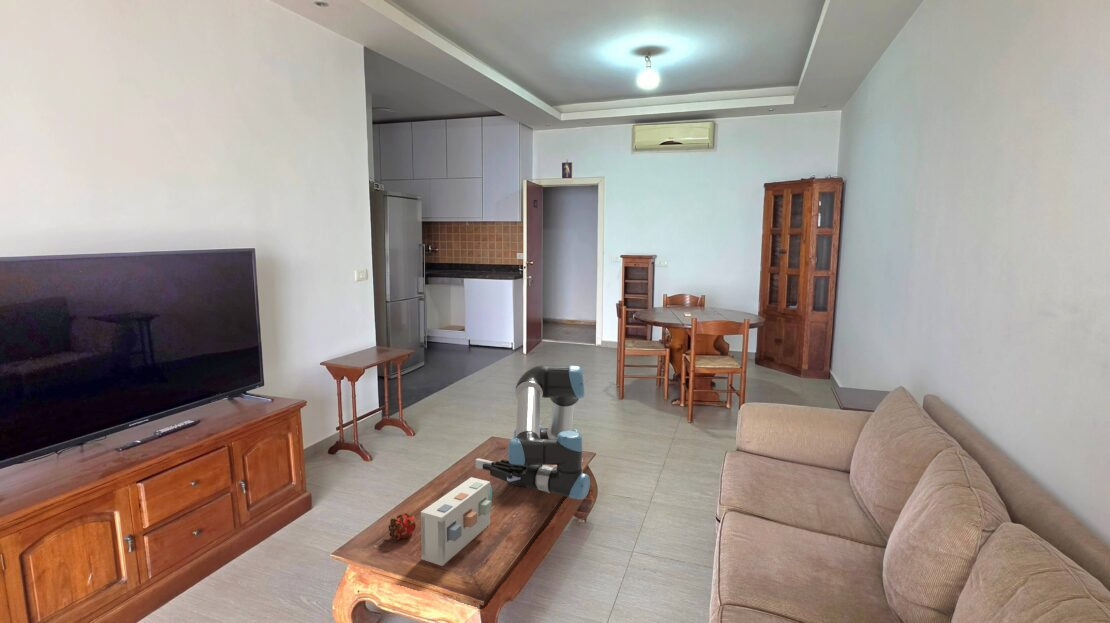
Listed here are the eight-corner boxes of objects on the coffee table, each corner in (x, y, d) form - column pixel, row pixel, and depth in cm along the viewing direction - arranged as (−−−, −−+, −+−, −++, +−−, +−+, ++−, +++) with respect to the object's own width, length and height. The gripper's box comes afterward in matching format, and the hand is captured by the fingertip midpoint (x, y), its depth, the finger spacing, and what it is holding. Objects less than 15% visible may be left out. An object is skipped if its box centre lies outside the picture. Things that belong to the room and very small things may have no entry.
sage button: (479, 507, 193) (479, 497, 193) (491, 510, 191) (491, 501, 191) (473, 512, 190) (473, 502, 190) (485, 515, 188) (485, 505, 187)
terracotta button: (464, 519, 185) (464, 509, 185) (477, 522, 183) (477, 512, 183) (458, 524, 182) (458, 513, 181) (471, 527, 180) (471, 517, 179)
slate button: (448, 531, 177) (448, 521, 177) (461, 535, 175) (461, 525, 175) (441, 537, 174) (441, 526, 173) (454, 541, 172) (454, 530, 171)
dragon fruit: (389, 550, 182) (410, 536, 193) (408, 538, 180) (428, 526, 191) (378, 526, 183) (399, 514, 195) (397, 515, 181) (416, 503, 193)
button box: (471, 519, 199) (471, 476, 197) (490, 524, 196) (490, 480, 194) (421, 559, 174) (420, 510, 172) (442, 566, 171) (441, 516, 169)
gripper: (530, 497, 165) (465, 481, 175) (549, 480, 176) (487, 466, 187) (530, 473, 164) (465, 458, 174) (550, 458, 176) (487, 445, 186)
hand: (476, 462), depth 180 cm, fingers closed
